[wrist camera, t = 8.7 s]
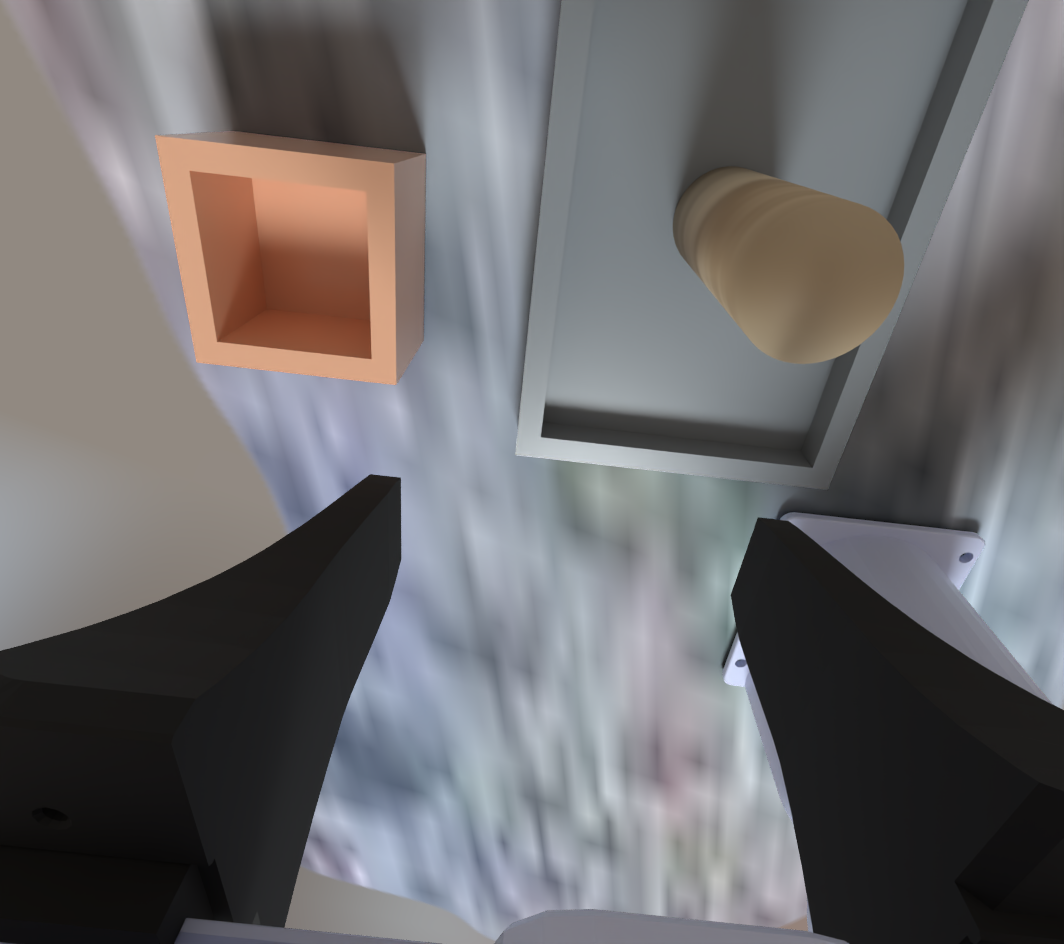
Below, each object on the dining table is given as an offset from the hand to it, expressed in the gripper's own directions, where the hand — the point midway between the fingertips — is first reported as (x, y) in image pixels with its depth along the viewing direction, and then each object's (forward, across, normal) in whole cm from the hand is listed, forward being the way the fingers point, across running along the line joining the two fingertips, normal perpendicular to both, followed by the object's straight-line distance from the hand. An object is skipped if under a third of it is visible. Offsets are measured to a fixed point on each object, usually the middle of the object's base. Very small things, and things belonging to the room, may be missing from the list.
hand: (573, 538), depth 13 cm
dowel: (+10, -4, -5) cm, 12 cm away
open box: (+10, +8, -3) cm, 13 cm away
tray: (+10, -4, -5) cm, 12 cm away
